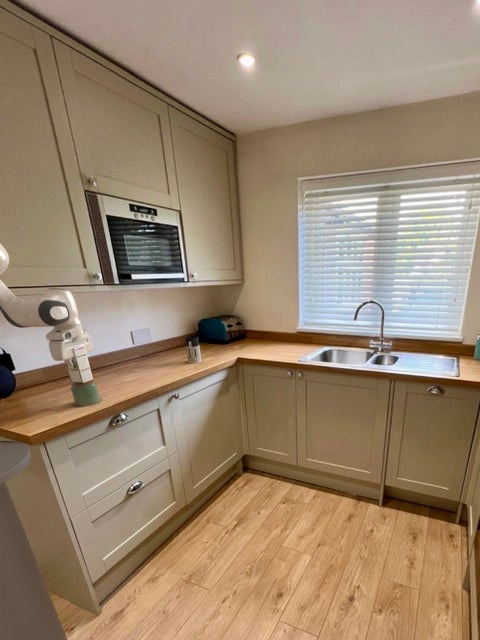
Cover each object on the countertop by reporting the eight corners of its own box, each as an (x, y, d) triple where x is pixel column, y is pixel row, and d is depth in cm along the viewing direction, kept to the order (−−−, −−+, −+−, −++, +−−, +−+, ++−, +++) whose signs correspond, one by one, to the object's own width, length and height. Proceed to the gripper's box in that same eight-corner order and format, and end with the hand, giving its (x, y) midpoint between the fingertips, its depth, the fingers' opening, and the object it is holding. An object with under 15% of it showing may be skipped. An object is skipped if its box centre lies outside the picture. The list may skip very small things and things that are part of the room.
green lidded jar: (92, 406, 135) (86, 385, 131) (70, 406, 134) (64, 385, 131) (104, 398, 143) (99, 378, 140) (83, 398, 143) (78, 378, 140)
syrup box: (93, 379, 138) (85, 344, 133) (82, 383, 132) (73, 347, 127) (81, 378, 138) (72, 344, 133) (70, 382, 133) (60, 347, 128)
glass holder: (203, 359, 209) (200, 335, 204) (199, 365, 196) (196, 339, 191) (188, 360, 208) (185, 336, 202) (184, 365, 195) (180, 340, 189)
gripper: (78, 328, 138) (86, 360, 143) (42, 336, 119) (52, 373, 124) (93, 328, 138) (101, 360, 143) (59, 336, 119) (69, 373, 124)
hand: (78, 366), depth 133 cm, fingers closed on syrup box, 6 cm apart
